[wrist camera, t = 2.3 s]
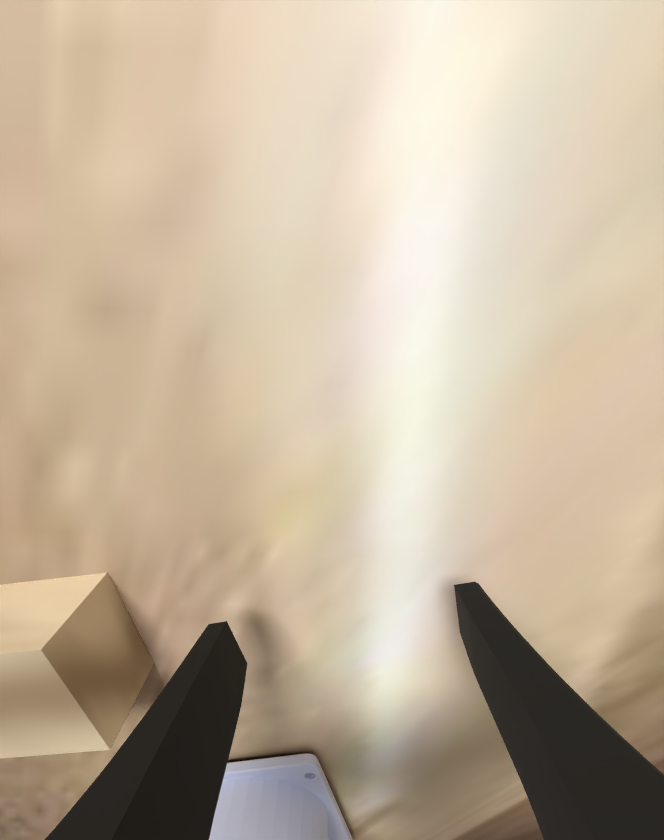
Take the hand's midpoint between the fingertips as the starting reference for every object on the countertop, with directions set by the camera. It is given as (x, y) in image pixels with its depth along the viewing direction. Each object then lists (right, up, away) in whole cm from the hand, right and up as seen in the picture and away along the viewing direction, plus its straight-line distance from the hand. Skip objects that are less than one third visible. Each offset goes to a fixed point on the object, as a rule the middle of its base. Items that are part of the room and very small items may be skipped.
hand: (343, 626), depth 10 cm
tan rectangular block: (-12, -2, +3) cm, 13 cm away
